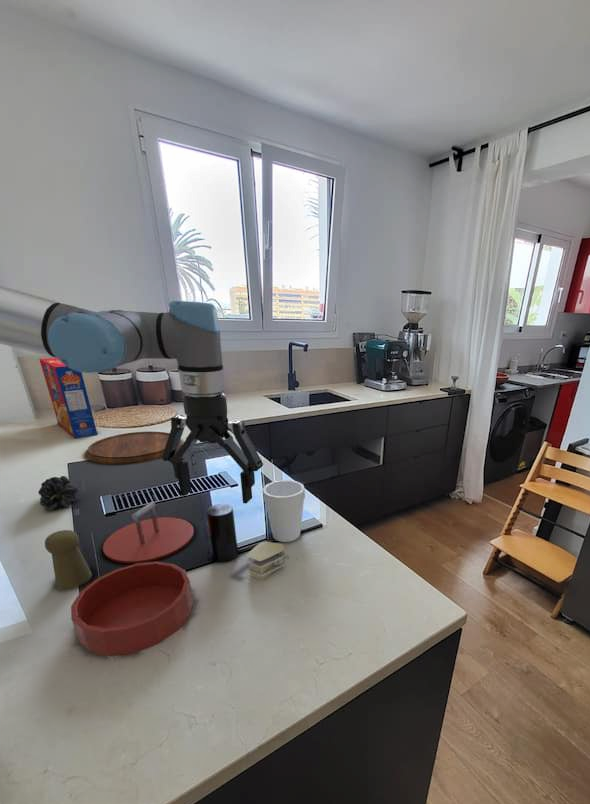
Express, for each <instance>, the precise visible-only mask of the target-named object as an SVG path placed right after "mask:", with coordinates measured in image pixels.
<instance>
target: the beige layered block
mask: <svg viewBox="0 0 590 804" xmlns="http://www.w3.org/2000/svg"><path fill="white" fill-rule="evenodd" d="M285 549H286V548H285V546H284V544H282V543H278V542H271V541H261V542H260V543H257V544H256V545H255V546H254V547H253V548H252V549H251V550H250V551H248V552H247V553H246V555H245V556H246V557H248V558H247V559H246V561H245V562H246V563H248V568H246V569H247V571H248V572H249V576H251V577H253V578H256V579H258V580H260V581H264V580H265V579H267V577H269V576H270V575H272V573H274V572H275V570H278V569H280V568H282V567H283V566H284V565H286V560H285V556H286V554H285Z"/></svg>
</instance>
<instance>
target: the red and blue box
mask: <svg viewBox="0 0 590 804" xmlns="http://www.w3.org/2000/svg"><path fill="white" fill-rule="evenodd" d="M38 360H39V363H40V367H41V370H42V373H43V376H44V380H45V384H46V386H47V390H48V394H49V397H50V400H51V404H52V408H53V411H54V415H55V418H56V421H57V424H58V426H60V427H61V428H62V429H63V430H64V431H65V432H66V433H68V434H69V435H70V436H71V437H72V438H73V439H75V440H76V439H83V438H88V437H92V436H98V431H97V427H96V422H95V419H94V415H93V411H92V408H91V403H90V399H89V396H88V391H87V388H86V383H85V380H84V377H83V372H79V371H75V370H73V369H71V368H69V367H68V366H66V365H65V364H63V363H62V362H61V361H60V360H58V358H55V357H48V358H39V359H38Z"/></svg>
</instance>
